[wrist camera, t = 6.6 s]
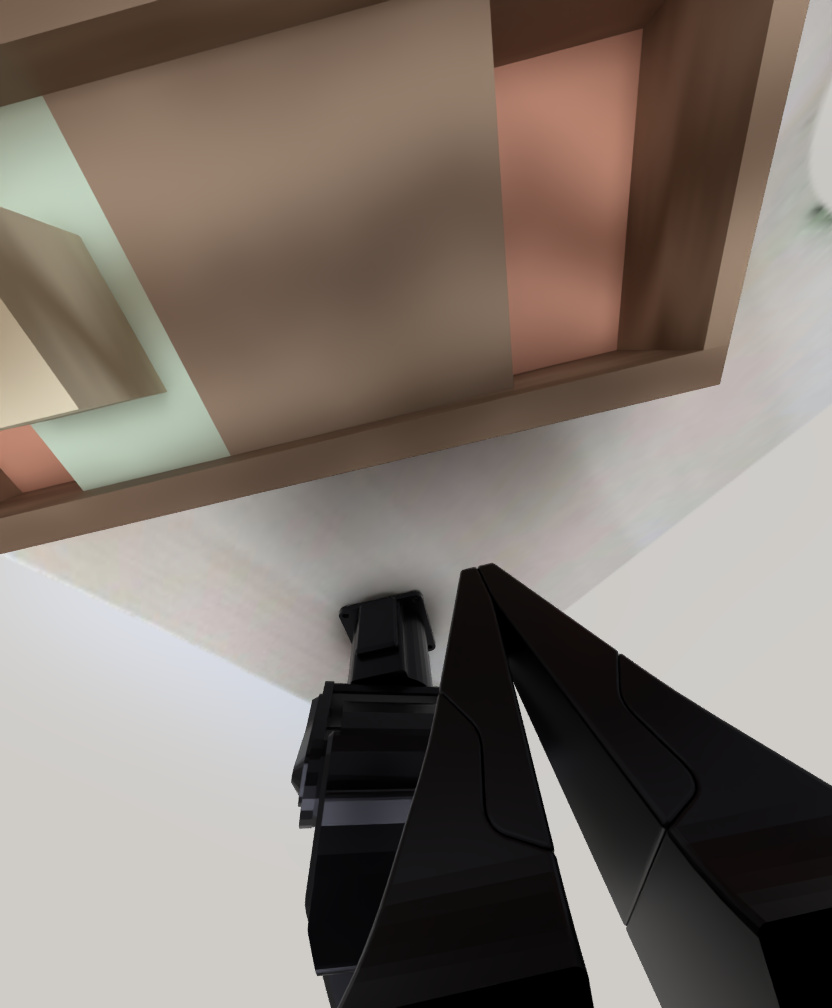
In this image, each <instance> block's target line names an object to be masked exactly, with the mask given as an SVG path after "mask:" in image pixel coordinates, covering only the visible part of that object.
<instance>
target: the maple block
mask: <svg viewBox="0 0 832 1008" xmlns="http://www.w3.org/2000/svg"><path fill="white" fill-rule="evenodd" d="M165 392H167V390H166V388H165V386H164V385H163V383H162V381H161V379H160V377H159V376H158V374H157V372H156V370H155V369H154V367H153V365H152V363H151V362H150V360H149V358H148V356H147V354H146V353H145V351H144V349H143V347H142V346H141V344H140V342H139V340H138V338H137V337H136V335H135V333H134V331H133V330H132V328H131V326H130V324H129V322H128V321H127V319H126V317H125V315H124V314H123V312H122V310H121V308H120V307H119V305H118V303H117V301H116V299H115V298H114V296H113V294H112V292H111V291H110V289H109V287H108V285H107V283H106V282H105V280H104V278H103V276H102V275H101V273H100V271H99V269H98V267H97V266H96V264H95V262H94V260H93V259H92V257H91V255H90V253H89V251H88V250H87V248H86V246H85V244H84V243H83V241H82V239H81V237H80V236H79V235H76V234H74V233H71V232H68V231H65V230H63V229H60V228H57V227H54V226H52V225H49V224H46V223H44V222H41V221H38V220H35V219H33V218H30V217H27V216H25V215H22V214H19V213H16V212H14V211H11V210H8V209H5V208H3V207H0V431H2V430H6V429H11V428H16V427H20V426H25V425H30V424H35V423H39V422H44V421H49V420H53V419H57V418H61V417H66V416H70V415H74V414H78V413H82V412H86V411H90V410H95V409H99V408H103V407H107V406H111V405H115V404H119V403H123V402H128V401H132V400H136V399H140V398H144V397H148V396H152V395H156V394H161V393H165Z"/></svg>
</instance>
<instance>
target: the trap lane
mask: <svg viewBox="0 0 832 1008" xmlns="http://www.w3.org/2000/svg"><path fill="white" fill-rule="evenodd" d="M809 1H810V0H0V207H3V208H5V209H8V210H11V211H14V212H16V213H19V214H22V215H25V216H27V217H30V218H33V219H35V220H38V221H41V222H44V223H46V224H49V225H52V226H54V227H57V228H60V229H63V230H65V231H68V232H71V233H74V234H76V235H79V236H80V237H81V239H82V241H83V243H84V244H85V246H86V248H87V250H88V251H89V253H90V255H91V257H92V259H93V260H94V262H95V264H96V266H97V267H98V269H99V271H100V273H101V275H102V276H103V278H104V280H105V282H106V283H107V285H108V287H109V289H110V291H111V292H112V294H113V296H114V298H115V299H116V301H117V303H118V305H119V307H120V308H121V310H122V312H123V314H124V315H125V317H126V319H127V321H128V322H129V324H130V326H131V328H132V330H133V331H134V333H135V335H136V337H137V338H138V340H139V342H140V344H141V346H142V347H143V349H144V351H145V353H146V354H147V356H148V358H149V360H150V362H151V363H152V365H153V367H154V369H155V370H156V372H157V374H158V376H159V377H160V379H161V381H162V383H163V385H164V386H165V388H166V390H167V392H165V393H161V394H156V395H152V396H148V397H144V398H140V399H136V400H132V401H128V402H123V403H119V404H115V405H111V406H107V407H103V408H99V409H95V410H90V411H86V412H82V413H78V414H74V415H70V416H66V417H61V418H57V419H53V420H49V421H44V422H39V423H35V424H30V425H25V426H20V427H16V428H11V429H6V430H2V431H0V554H3V553H7V552H11V551H16V550H20V549H24V548H28V547H33V546H37V545H41V544H45V543H49V542H54V541H58V540H62V539H66V538H71V537H75V536H79V535H83V534H88V533H92V532H96V531H100V530H105V529H109V528H113V527H117V526H121V525H126V524H130V523H134V522H138V521H143V520H147V519H151V518H155V517H160V516H164V515H168V514H172V513H177V512H181V511H185V510H189V509H193V508H198V507H202V506H206V505H210V504H215V503H219V502H223V501H227V500H232V499H236V498H240V497H244V496H249V495H253V494H257V493H261V492H265V491H270V490H274V489H278V488H282V487H287V486H291V485H295V484H299V483H304V482H308V481H312V480H316V479H321V478H325V477H329V476H333V475H337V474H342V473H346V472H350V471H354V470H359V469H363V468H367V467H371V466H376V465H380V464H384V463H388V462H393V461H397V460H401V459H405V458H409V457H414V456H418V455H422V454H426V453H431V452H435V451H439V450H443V449H448V448H452V447H456V446H460V445H465V444H469V443H473V442H477V441H481V440H486V439H490V438H494V437H498V436H503V435H507V434H511V433H515V432H520V431H524V430H528V429H532V428H537V427H541V426H545V425H549V424H553V423H558V422H562V421H566V420H570V419H575V418H579V417H583V416H587V415H592V414H596V413H600V412H604V411H609V410H613V409H617V408H621V407H625V406H630V405H634V404H638V403H642V402H647V401H651V400H655V399H659V398H664V397H668V396H672V395H676V394H681V393H685V392H689V391H693V390H697V389H702V388H706V387H710V386H714V385H719V384H720V381H721V377H722V372H723V368H724V364H725V360H726V355H727V351H728V347H729V342H730V338H731V334H732V330H733V325H734V321H735V317H736V313H737V308H738V304H739V300H740V296H741V291H742V287H743V283H744V278H745V274H746V270H747V266H748V261H749V257H750V253H751V249H752V244H753V240H754V236H755V231H756V227H757V223H758V219H759V214H760V210H761V206H762V202H763V197H764V193H765V189H766V184H767V180H768V176H769V172H770V167H771V163H772V159H773V155H774V150H775V146H776V142H777V138H778V133H779V129H780V125H781V120H782V116H783V112H784V108H785V103H786V99H787V95H788V91H789V86H790V82H791V78H792V73H793V69H794V65H795V61H796V56H797V52H798V48H799V44H800V39H801V35H802V31H803V26H804V22H805V18H806V14H807V9H808V5H809Z"/></svg>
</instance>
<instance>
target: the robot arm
mask: <svg viewBox="0 0 832 1008" xmlns="http://www.w3.org/2000/svg"><path fill="white" fill-rule="evenodd" d="M414 598H417V599H414ZM345 613H347V614H345ZM339 618H340V620H341V622H342V624H343V626H344V628H345V630H346V632H347V634H348V637H349V639H350V641H351V643H352V650H351V658H350V666H349V675H348V683H347V684H343V683H334V682H333V681H326V682H325V686H324V691H323V694H320V695H319V697H317V698H315V699H313V700H312V704H311V709H310V713H309V718H308V723H307V727H306V731H305V734H304V738H303V740H302V744H301V747H300V750H299V753H298V756H297V759H296V762H295V765H294V769H293V774H292V780H291V783H292V785H293V786H294V788H295V790H296V791H297V793H298V795H299V802H298V806H299V807H301V812H300V820H299V828H312V827H315V833H314V840H313V847H312V854H311V861H310V868H309V875H308V883H307V890H306V898H305V908H306V914H307V918H308V936H309V941H310V946H311V952H312V957H313V962H314V966H315V971H316V974H317V976H323V979H324V983H325V987H326V991H327V994H328V998H329V1002H330V1005H331V1008H594V1006H593V1001H592V995H591V989H590V983H589V977H588V974H587V970H586V967H585V963H584V960H583V956H582V953H581V949H580V946H579V942H578V939H577V935H576V931H575V928H574V924H573V920H572V916H571V913H570V909H569V906H568V901H567V898H566V894H565V890H564V886H563V882H562V878H561V875H560V871H559V866H558V862H557V858H556V856H555V855H554V846H553V842H552V838H551V834H550V830H549V826H548V822H547V818H546V814H545V809H544V805H543V801H542V797H541V793H540V789H539V785H538V781H537V777H536V773H535V769H534V765H533V761H532V757H531V753H530V749H529V744H528V741H527V736H526V733H525V728H524V725H523V720H522V716H521V712H520V708H519V704H518V700H517V696H516V692H515V688H514V685H515V687H516V689H517V691H518V693H519V696H520V698H521V700H522V702H523V704H524V707H525V709H526V711H527V713H528V715H529V717H530V720H531V722H532V724H533V726H534V728H535V731H536V733H537V735H538V737H539V739H540V742H541V744H542V746H543V748H544V750H545V752H546V755H547V757H548V759H549V761H550V763H551V765H552V768H553V770H554V772H555V774H556V777H557V779H558V781H559V783H560V785H561V787H562V790H563V792H564V794H565V796H566V798H567V801H568V803H569V805H570V807H571V809H572V812H573V814H574V816H575V818H576V820H577V823H578V824H579V827H580V829H581V831H582V834H583V835H584V838H585V840H586V842H587V844H588V847H589V849H590V851H591V853H592V855H593V858H594V860H595V862H596V864H597V866H598V869H599V871H600V873H601V875H602V877H603V880H604V882H605V884H606V886H607V888H608V890H609V893H610V895H611V897H612V899H613V901H614V904H615V906H616V908H617V910H618V912H619V915H620V917H621V919H622V921H623V923H624V925H626V926H627V927H626V929H627V932H628V935H629V937H630V939H631V941H632V943H633V946H634V948H635V950H636V952H637V954H638V956H639V959H640V961H641V963H642V965H643V967H644V970H645V972H646V974H647V976H648V978H649V981H650V983H651V985H652V987H653V989H654V991H655V993H656V996H657V998H658V1000H659V1002H660V1005H661V1007H662V1008H832V786H831V785H829V784H828V783H826V782H824V781H823V780H821V779H819V778H818V777H816V776H814V775H813V774H811V773H810V772H808V771H806V770H804V769H803V768H801V767H799V766H798V765H796V764H795V763H793V762H791V761H790V760H788V759H786V758H785V757H783V756H781V755H780V754H778V753H776V752H775V751H773V750H771V749H770V748H768V747H766V746H765V745H763V744H761V743H760V742H758V741H756V740H755V739H753V738H751V737H750V736H748V735H746V734H745V733H743V732H741V731H740V730H738V729H737V728H735V727H733V726H732V725H730V724H728V723H727V722H725V721H723V720H721V719H720V718H718V717H716V716H715V715H713V714H712V713H710V712H709V711H707V710H705V709H704V708H702V707H701V706H699V705H697V704H696V703H694V702H693V701H691V700H689V699H688V698H686V697H685V696H683V695H681V694H680V693H678V692H677V691H675V690H674V689H672V688H671V687H669V686H668V685H666V684H665V683H663V682H662V681H660V680H659V679H657V678H656V677H654V676H653V675H651V674H650V673H648V672H647V671H646V670H644V669H643V668H641V667H640V666H638V665H637V664H636V663H634V662H633V661H631V660H630V659H628V658H627V657H626V656H624V655H623V654H619V656H618V651H617V650H615V649H614V648H613V647H611V646H610V645H608V644H607V643H606V642H604V641H603V640H601V639H600V638H598V637H597V636H596V635H594V634H593V633H591V632H590V631H589V630H587V629H586V628H584V627H583V626H582V625H580V624H579V623H577V622H576V621H574V620H573V619H572V618H570V617H569V616H567V615H566V614H564V613H563V612H562V611H560V610H559V609H558V608H556V607H555V606H553V605H552V604H550V603H549V602H548V601H546V600H545V599H543V598H542V597H541V596H539V595H538V594H536V593H535V592H534V591H532V590H531V589H529V588H528V587H526V586H525V585H524V584H522V583H521V582H519V581H518V580H517V579H515V578H514V577H512V576H511V575H510V574H508V573H507V572H505V571H504V570H502V569H501V568H500V567H498V566H497V565H495V564H493V563H490V564H485V565H481V566H479V567H478V569H477V568H476V567H472V568H468V569H464V570H462V571H461V572H460V578H459V583H458V589H457V594H456V600H455V605H454V611H453V616H452V622H451V627H450V633H449V638H448V644H447V649H446V655H445V660H444V666H443V671H442V677H441V682H440V687H433V685H432V677H431V670H430V662H429V655H428V651H432V650H434V649H435V640H434V637H433V633H432V630H431V626H430V623H429V619H428V615H427V612H426V608H425V605H424V601H423V598H422V594H421V593H420V592H417V591H415V592H410V593H405V594H401V595H396V596H392V597H388V598H383V599H379V600H374V601H370V602H365V603H361V604H356V605H352V606H348V607H344V608H342V609H341V610H340V613H339ZM513 682H514V684H513Z"/></svg>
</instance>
